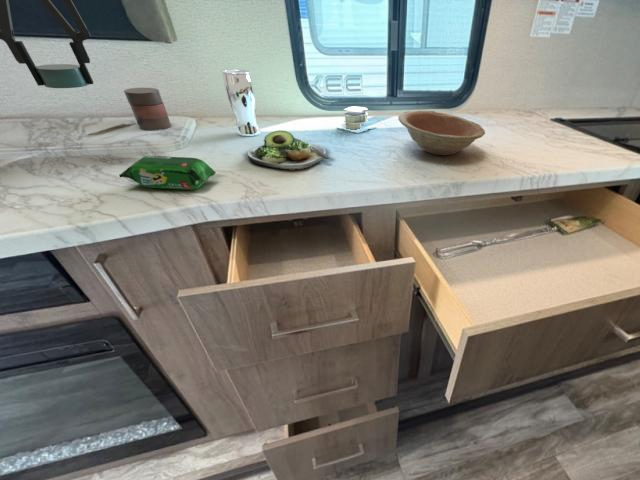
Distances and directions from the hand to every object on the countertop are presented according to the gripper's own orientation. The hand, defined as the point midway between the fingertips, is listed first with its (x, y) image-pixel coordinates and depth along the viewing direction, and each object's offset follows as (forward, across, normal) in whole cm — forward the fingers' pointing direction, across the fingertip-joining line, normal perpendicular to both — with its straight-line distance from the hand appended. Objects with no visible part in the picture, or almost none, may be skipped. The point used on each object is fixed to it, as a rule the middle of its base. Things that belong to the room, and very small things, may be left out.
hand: (66, 83), depth 66 cm
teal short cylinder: (0, 0, 0) cm, 0 cm away
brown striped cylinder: (+15, +12, +26) cm, 32 cm away
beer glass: (+15, +34, +10) cm, 39 cm away
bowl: (+15, +77, -25) cm, 82 cm away
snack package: (+15, +11, -21) cm, 28 cm away
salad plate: (+15, +37, -14) cm, 43 cm away
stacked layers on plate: (+15, +66, +4) cm, 68 cm away
